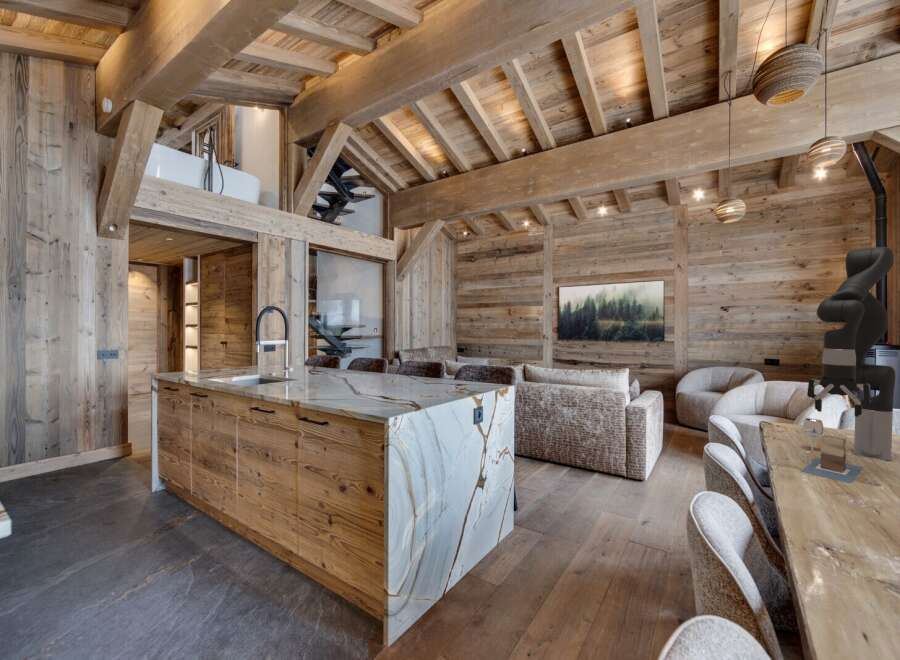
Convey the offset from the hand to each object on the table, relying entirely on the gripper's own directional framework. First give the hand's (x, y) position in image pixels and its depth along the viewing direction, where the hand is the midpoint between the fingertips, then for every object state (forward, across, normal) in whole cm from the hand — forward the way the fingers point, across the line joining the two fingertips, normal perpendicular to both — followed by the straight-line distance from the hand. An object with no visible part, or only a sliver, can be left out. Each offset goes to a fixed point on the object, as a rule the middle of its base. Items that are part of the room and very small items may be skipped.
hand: (837, 413), depth 125 cm
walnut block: (+18, 0, +2) cm, 18 cm away
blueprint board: (+19, +1, +2) cm, 19 cm away
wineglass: (+19, +10, -21) cm, 30 cm away
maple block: (+13, 0, +1) cm, 13 cm away
